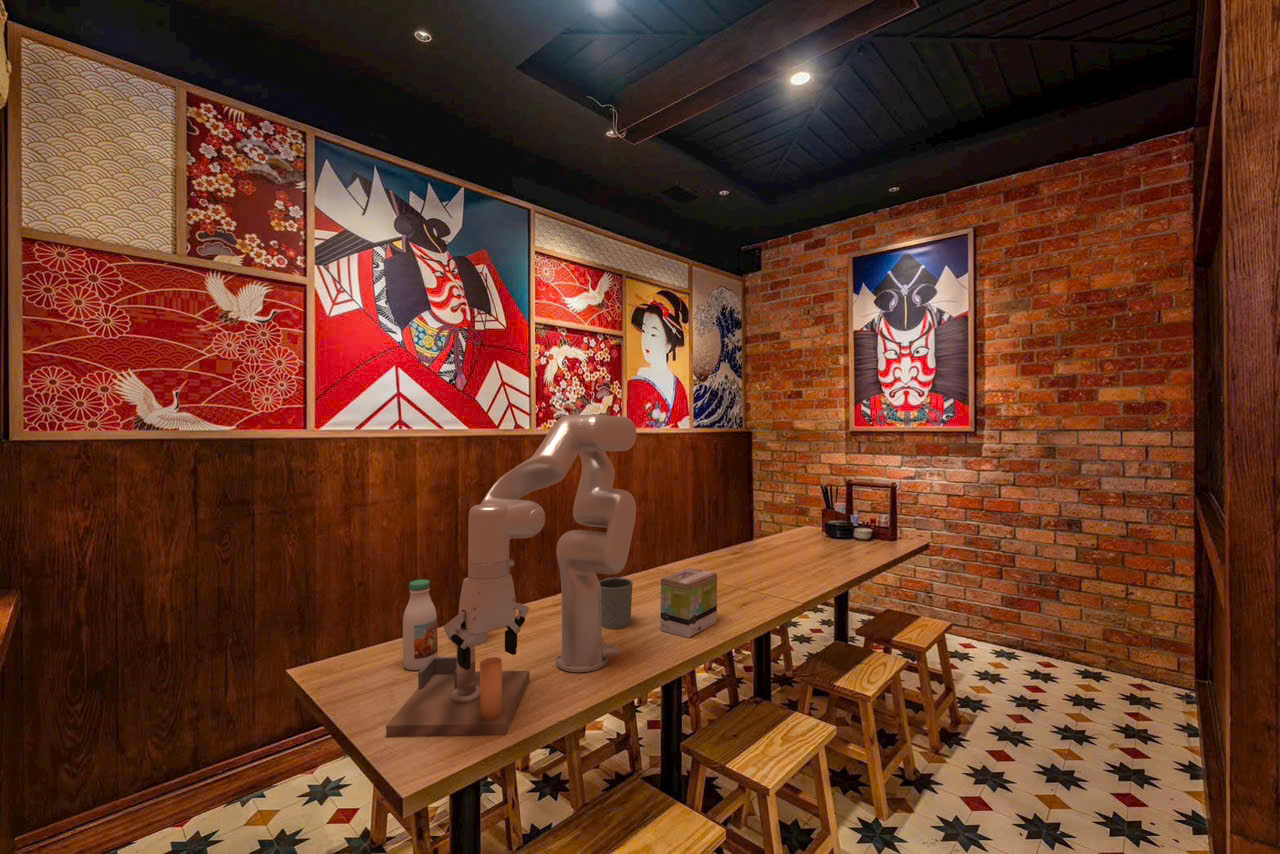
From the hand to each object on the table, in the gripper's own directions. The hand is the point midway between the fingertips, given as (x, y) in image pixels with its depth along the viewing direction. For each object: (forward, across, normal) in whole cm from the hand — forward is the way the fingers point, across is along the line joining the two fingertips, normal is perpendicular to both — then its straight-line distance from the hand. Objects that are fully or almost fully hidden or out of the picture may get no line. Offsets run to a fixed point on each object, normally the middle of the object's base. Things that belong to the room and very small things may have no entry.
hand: (488, 660), depth 104 cm
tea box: (+11, -66, -5) cm, 67 cm away
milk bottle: (+12, -3, -37) cm, 39 cm away
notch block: (+10, -1, -20) cm, 23 cm away
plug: (+11, -1, 0) cm, 11 cm away
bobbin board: (+12, -1, -11) cm, 17 cm away
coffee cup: (+12, -19, -41) cm, 47 cm away
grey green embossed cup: (+11, -53, -22) cm, 59 cm away
